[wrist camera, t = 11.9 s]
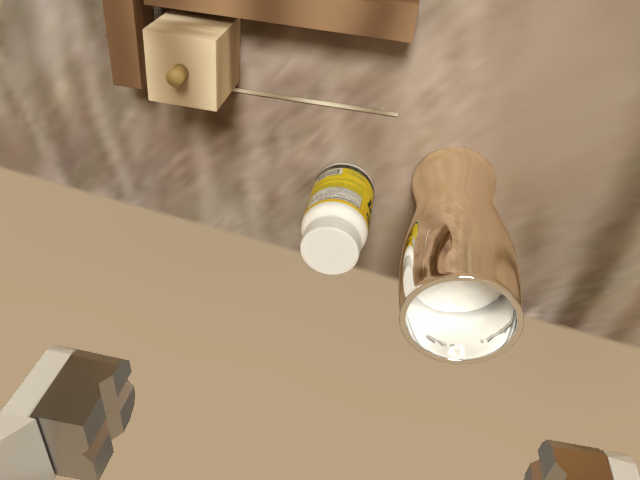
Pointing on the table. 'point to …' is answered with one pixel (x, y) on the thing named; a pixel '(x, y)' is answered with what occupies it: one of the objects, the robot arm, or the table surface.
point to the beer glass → (458, 263)
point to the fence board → (260, 5)
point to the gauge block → (192, 58)
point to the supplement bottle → (337, 218)
